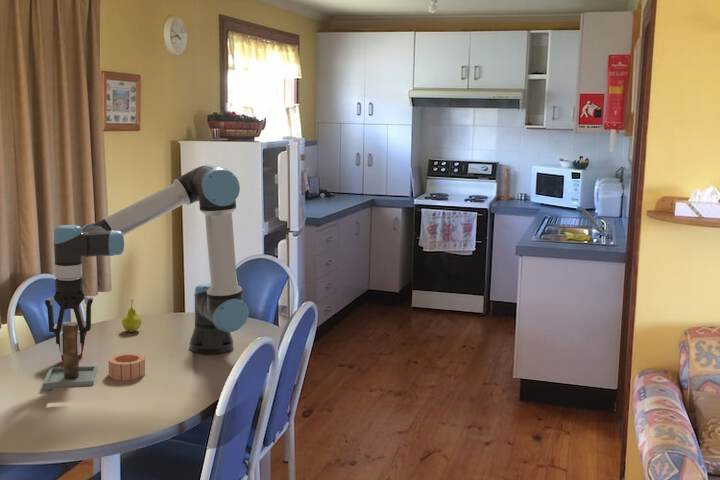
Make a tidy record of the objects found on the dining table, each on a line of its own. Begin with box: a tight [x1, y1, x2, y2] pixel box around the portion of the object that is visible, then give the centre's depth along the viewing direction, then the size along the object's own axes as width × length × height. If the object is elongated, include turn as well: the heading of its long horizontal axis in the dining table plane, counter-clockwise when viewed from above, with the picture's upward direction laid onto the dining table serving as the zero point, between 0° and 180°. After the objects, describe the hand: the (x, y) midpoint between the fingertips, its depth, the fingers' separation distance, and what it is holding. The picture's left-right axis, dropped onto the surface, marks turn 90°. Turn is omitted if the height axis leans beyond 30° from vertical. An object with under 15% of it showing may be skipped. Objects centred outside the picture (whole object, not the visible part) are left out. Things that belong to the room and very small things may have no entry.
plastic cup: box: [54, 321, 88, 364], centre depth 237 cm, size 11×11×12 cm
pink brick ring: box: [107, 352, 146, 381], centre depth 225 cm, size 11×11×6 cm
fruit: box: [121, 299, 142, 333], centre depth 272 cm, size 7×7×12 cm
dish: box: [42, 364, 99, 392], centre depth 220 cm, size 14×14×2 cm
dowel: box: [63, 323, 80, 379], centre depth 219 cm, size 4×4×16 cm
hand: (70, 353), depth 219 cm, fingers closed on dowel, 4 cm apart
